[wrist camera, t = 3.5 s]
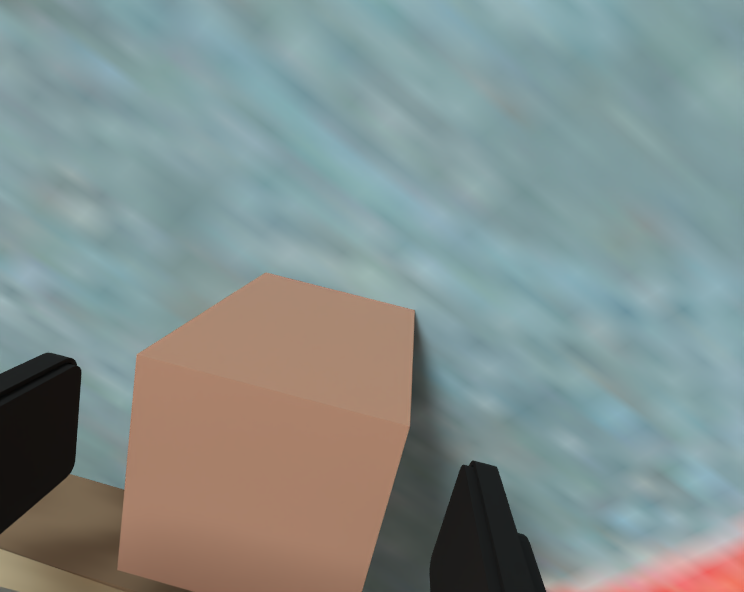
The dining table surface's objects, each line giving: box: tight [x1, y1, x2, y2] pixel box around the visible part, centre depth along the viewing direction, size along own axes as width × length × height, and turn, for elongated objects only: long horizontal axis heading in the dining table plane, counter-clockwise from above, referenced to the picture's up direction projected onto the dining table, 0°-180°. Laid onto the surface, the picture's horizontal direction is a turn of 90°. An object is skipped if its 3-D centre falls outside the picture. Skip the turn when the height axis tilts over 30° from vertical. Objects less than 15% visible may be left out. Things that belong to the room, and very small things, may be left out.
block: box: [117, 273, 415, 592], centre depth 12 cm, size 5×5×7 cm
